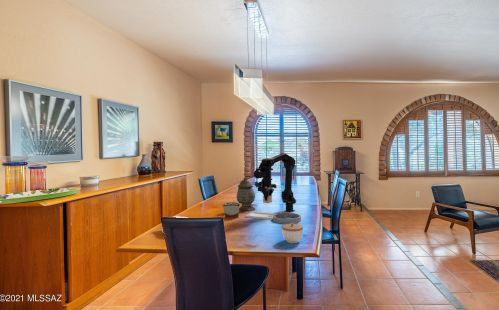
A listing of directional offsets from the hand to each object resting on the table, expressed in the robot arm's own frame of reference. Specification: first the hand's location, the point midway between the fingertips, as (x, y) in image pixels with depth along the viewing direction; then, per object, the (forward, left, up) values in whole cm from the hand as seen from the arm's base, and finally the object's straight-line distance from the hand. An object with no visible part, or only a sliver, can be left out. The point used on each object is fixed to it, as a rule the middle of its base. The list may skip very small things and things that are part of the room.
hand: (267, 200), depth 208 cm
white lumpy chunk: (+52, -28, -12) cm, 60 cm away
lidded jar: (+42, +33, -12) cm, 55 cm away
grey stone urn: (-15, -25, -12) cm, 32 cm away
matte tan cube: (0, 0, -2) cm, 2 cm away
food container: (+9, -23, -12) cm, 28 cm away
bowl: (+3, +15, -12) cm, 19 cm away
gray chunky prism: (+3, +12, -11) cm, 17 cm away
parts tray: (0, -4, -12) cm, 13 cm away
